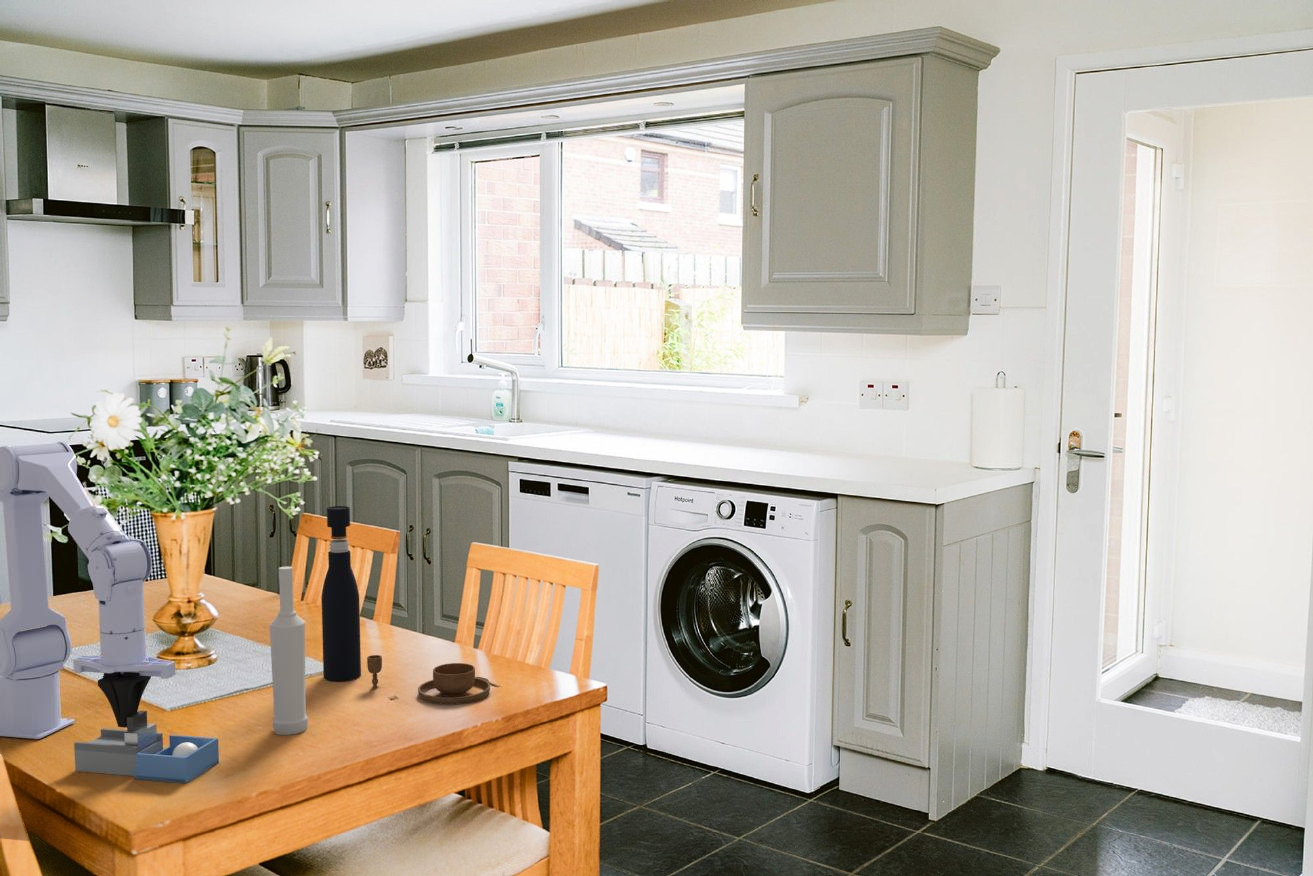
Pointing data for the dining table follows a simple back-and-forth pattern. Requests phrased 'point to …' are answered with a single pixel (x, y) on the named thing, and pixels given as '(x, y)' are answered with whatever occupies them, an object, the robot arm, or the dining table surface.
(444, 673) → the place setting
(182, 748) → the ball
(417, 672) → the dining table surface
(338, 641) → the wine bottle
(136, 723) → the grey angular hollow piece
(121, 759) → the open gray tray
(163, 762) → the open box
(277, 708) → the bottle
